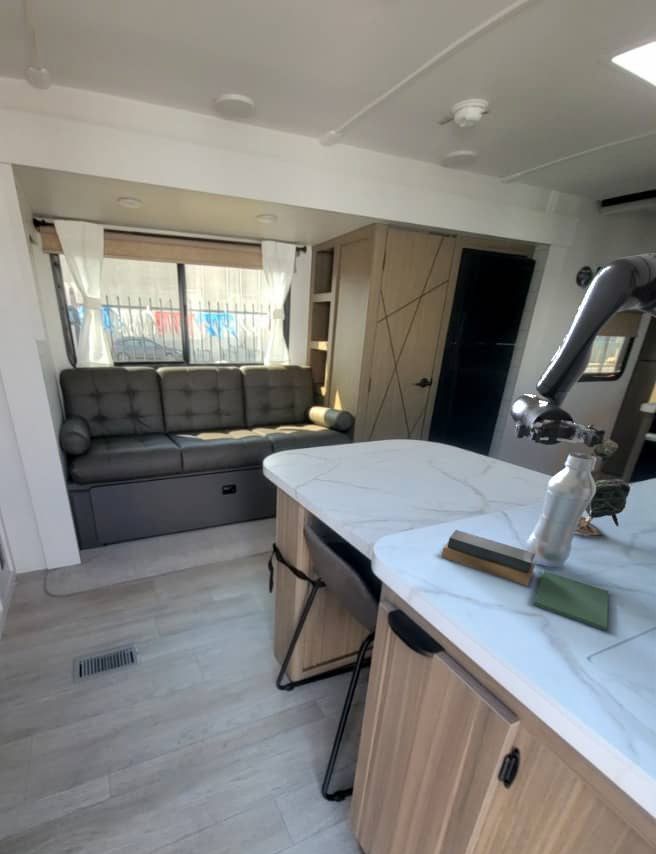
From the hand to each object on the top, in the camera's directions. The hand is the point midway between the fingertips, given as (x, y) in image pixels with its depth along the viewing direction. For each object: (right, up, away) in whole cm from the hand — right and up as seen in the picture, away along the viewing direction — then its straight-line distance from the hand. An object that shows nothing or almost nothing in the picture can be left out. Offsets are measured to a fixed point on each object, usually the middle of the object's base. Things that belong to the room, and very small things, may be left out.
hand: (565, 439), depth 74 cm
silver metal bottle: (-4, -22, 0) cm, 23 cm away
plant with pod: (+12, -17, +11) cm, 24 cm away
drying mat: (-7, -27, -10) cm, 30 cm away
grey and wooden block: (-16, -23, -2) cm, 28 cm away
